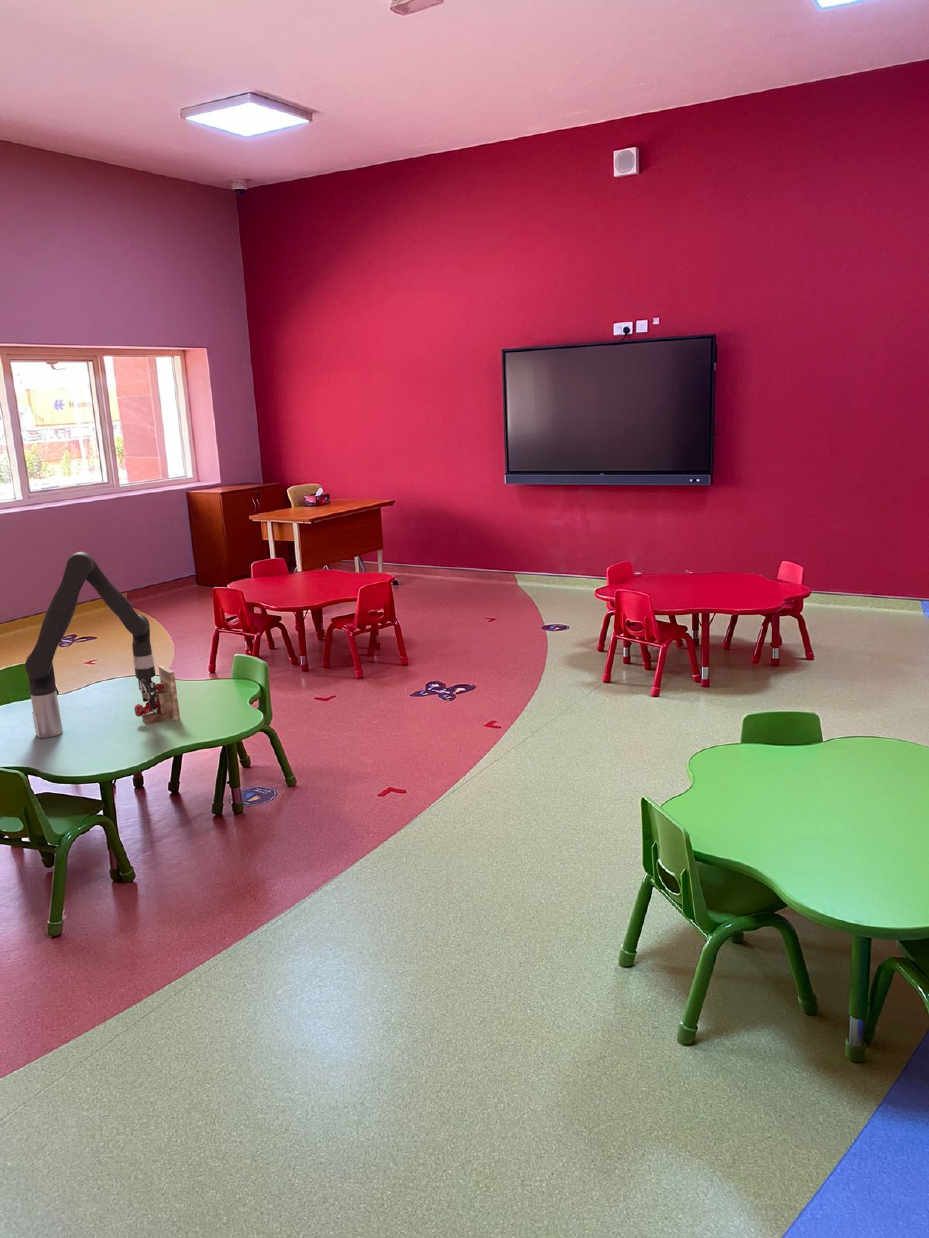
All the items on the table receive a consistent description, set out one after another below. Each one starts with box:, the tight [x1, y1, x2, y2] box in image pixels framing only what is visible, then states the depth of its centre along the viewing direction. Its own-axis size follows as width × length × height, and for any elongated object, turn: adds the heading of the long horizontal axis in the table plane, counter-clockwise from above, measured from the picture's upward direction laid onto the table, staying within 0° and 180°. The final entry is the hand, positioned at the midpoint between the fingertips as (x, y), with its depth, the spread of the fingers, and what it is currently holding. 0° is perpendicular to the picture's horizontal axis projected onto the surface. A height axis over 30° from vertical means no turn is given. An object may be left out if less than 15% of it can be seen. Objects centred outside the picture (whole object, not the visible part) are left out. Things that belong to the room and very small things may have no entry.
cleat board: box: [141, 664, 181, 725], centre depth 370 cm, size 12×13×20 cm
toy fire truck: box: [134, 683, 165, 718], centre depth 368 cm, size 3×14×10 cm, turn 138°
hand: (149, 703), depth 368 cm, fingers open, 8 cm apart
